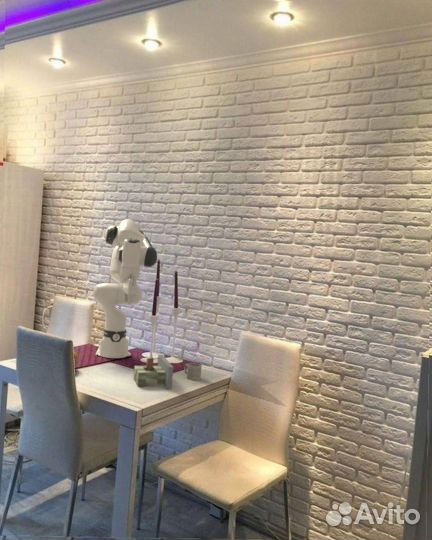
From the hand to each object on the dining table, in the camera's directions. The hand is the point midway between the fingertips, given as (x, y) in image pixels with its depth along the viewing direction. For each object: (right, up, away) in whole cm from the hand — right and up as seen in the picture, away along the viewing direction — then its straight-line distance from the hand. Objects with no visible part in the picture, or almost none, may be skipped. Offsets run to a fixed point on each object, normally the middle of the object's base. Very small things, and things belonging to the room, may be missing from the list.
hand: (128, 303), depth 226 cm
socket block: (+11, -35, -7) cm, 38 cm away
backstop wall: (+17, -36, -5) cm, 40 cm away
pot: (-30, -32, +1) cm, 44 cm away
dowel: (+11, -34, -7) cm, 37 cm away
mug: (+29, -37, +7) cm, 47 cm away
